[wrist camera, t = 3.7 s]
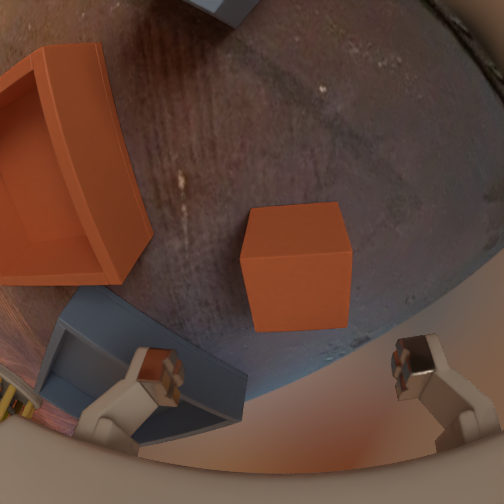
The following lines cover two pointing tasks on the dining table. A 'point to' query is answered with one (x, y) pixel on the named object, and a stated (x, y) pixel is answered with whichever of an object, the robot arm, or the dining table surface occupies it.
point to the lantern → (16, 395)
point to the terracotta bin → (65, 174)
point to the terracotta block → (297, 267)
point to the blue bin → (119, 359)
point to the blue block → (225, 9)
